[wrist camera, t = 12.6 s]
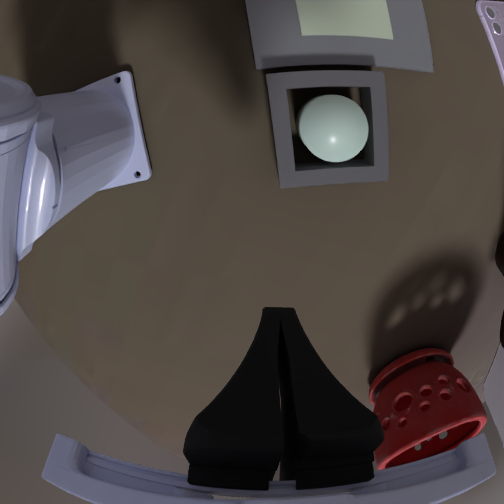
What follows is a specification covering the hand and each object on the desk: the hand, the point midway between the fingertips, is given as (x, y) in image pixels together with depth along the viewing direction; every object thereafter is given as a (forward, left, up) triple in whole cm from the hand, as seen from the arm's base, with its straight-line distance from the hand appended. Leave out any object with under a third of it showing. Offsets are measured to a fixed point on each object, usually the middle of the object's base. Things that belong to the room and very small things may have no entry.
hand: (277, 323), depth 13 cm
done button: (+4, +7, -10) cm, 13 cm away
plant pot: (+15, -21, -10) cm, 28 cm away
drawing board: (+6, +21, -9) cm, 24 cm away
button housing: (+4, +7, -9) cm, 13 cm away
